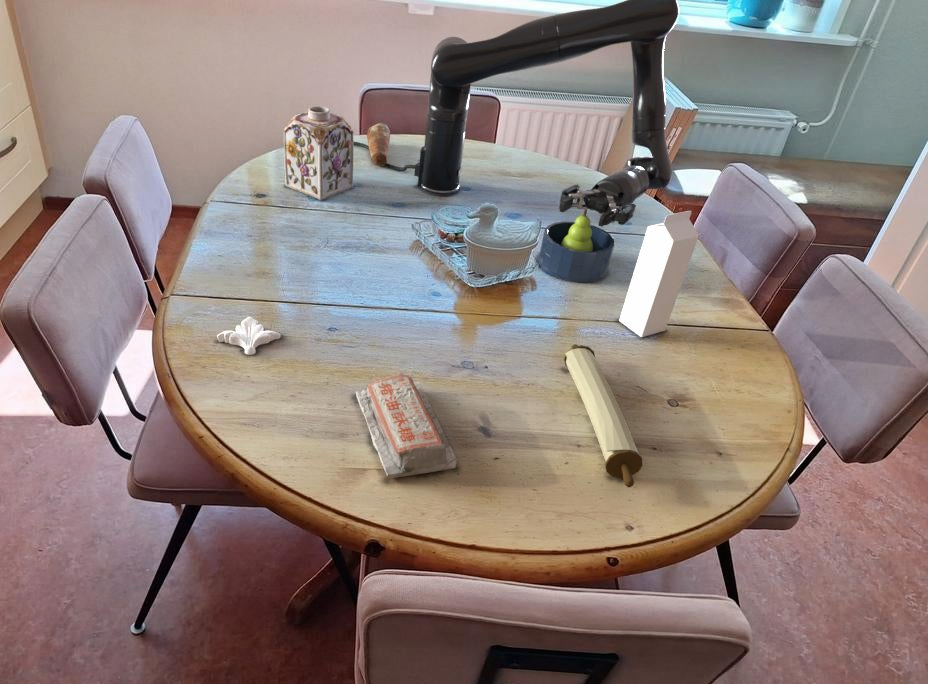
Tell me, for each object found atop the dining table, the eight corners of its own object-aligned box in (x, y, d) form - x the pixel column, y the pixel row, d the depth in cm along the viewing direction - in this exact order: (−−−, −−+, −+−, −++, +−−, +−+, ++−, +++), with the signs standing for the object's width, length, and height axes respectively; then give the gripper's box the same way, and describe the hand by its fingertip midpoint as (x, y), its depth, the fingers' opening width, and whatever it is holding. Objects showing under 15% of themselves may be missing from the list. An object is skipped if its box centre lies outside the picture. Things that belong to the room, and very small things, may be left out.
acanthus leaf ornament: (217, 341, 113) (216, 332, 112) (245, 323, 118) (244, 313, 117) (253, 357, 110) (252, 347, 109) (281, 337, 115) (280, 328, 114)
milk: (665, 331, 127) (707, 218, 113) (640, 338, 124) (680, 223, 111) (641, 314, 131) (679, 203, 117) (617, 320, 128) (653, 207, 115)
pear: (553, 264, 142) (565, 210, 135) (563, 252, 147) (575, 200, 140) (583, 273, 140) (597, 219, 133) (592, 261, 145) (606, 208, 138)
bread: (389, 143, 193) (391, 123, 189) (388, 169, 178) (390, 147, 174) (366, 141, 192) (367, 121, 189) (363, 167, 177) (364, 145, 174)
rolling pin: (645, 499, 93) (656, 472, 90) (604, 498, 92) (614, 471, 89) (587, 357, 118) (594, 332, 115) (554, 355, 118) (560, 331, 114)
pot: (528, 269, 141) (534, 239, 137) (551, 243, 151) (557, 215, 147) (595, 289, 137) (603, 259, 133) (614, 261, 147) (622, 233, 143)
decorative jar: (317, 173, 172) (317, 97, 161) (354, 187, 167) (356, 110, 156) (283, 187, 164) (280, 107, 153) (320, 201, 159) (320, 121, 148)
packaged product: (462, 443, 91) (389, 455, 88) (458, 470, 94) (387, 482, 91) (420, 363, 105) (355, 371, 102) (418, 388, 108) (354, 396, 105)
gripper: (590, 164, 147) (553, 184, 137) (653, 185, 141) (619, 208, 130) (581, 198, 152) (545, 220, 141) (642, 220, 146) (609, 244, 135)
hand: (581, 214), depth 136 cm, fingers open, 8 cm apart
